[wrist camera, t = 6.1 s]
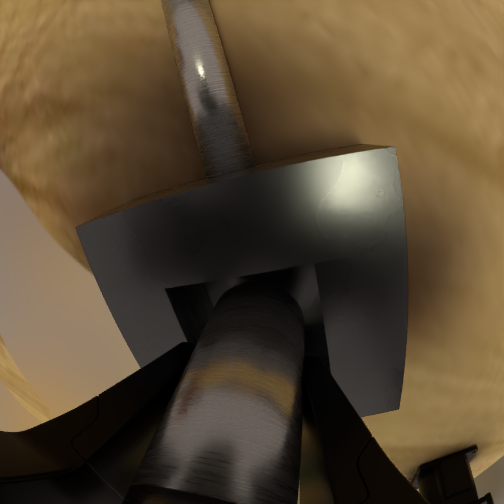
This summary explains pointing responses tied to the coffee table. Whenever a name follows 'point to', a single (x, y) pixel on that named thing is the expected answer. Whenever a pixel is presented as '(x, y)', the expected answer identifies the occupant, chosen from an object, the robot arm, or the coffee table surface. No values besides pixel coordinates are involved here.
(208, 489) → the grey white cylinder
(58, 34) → the coffee table surface
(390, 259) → the chuck block
